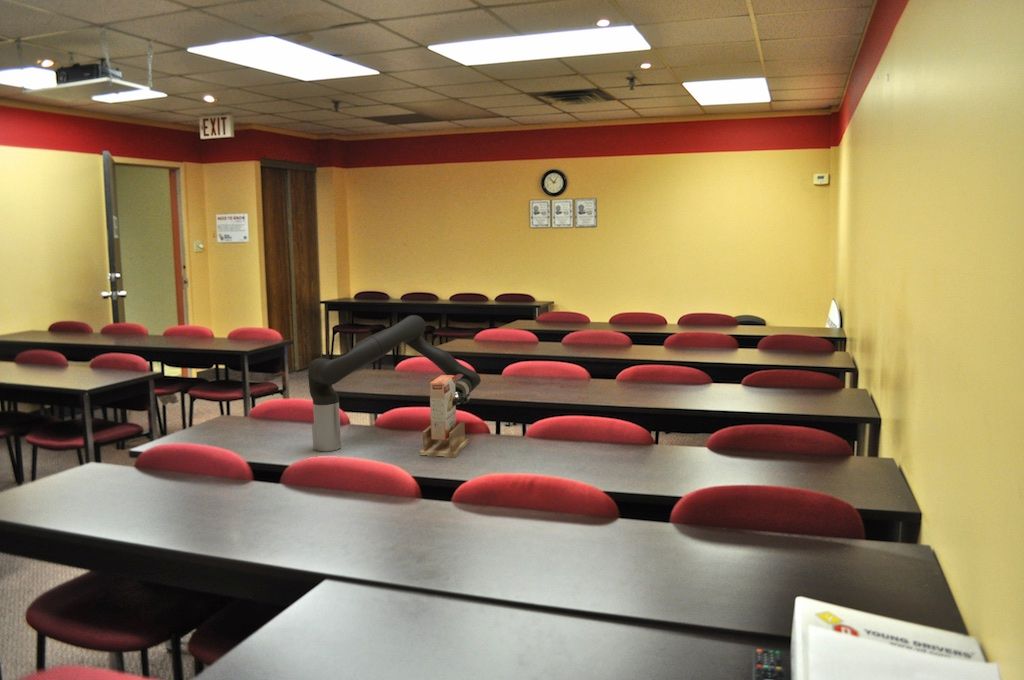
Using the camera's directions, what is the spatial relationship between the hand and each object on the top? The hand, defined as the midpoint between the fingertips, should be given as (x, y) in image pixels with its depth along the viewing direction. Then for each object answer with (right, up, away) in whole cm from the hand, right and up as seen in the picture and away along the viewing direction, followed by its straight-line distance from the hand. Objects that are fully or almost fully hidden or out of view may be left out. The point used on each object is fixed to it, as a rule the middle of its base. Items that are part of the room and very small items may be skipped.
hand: (444, 403), depth 279 cm
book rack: (0, -17, +1) cm, 17 cm away
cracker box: (0, -12, 0) cm, 12 cm away
